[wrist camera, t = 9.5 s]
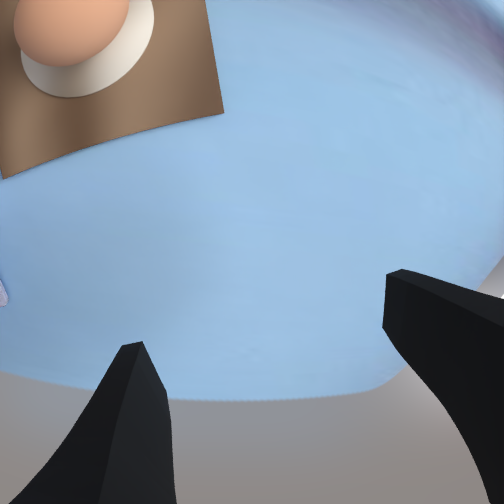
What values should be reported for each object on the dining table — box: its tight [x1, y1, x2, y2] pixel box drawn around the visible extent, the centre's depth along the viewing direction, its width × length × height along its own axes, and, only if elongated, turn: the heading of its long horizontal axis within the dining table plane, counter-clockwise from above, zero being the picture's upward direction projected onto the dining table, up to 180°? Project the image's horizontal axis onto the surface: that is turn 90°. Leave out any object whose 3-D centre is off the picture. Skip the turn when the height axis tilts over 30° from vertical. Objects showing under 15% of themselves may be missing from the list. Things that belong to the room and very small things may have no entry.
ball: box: [14, 0, 129, 67], centre depth 8 cm, size 5×5×5 cm
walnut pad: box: [0, 0, 224, 179], centre depth 11 cm, size 12×12×1 cm
